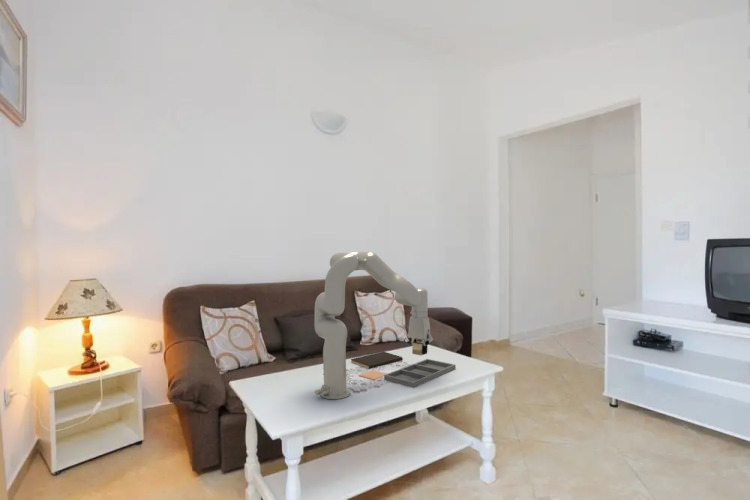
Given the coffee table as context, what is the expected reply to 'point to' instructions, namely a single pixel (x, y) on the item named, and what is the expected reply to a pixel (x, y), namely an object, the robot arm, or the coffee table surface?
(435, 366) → the grey organiser
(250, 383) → the coffee table surface
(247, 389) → the coffee table surface
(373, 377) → the terracotta tile
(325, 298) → the robot arm
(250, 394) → the coffee table surface
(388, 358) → the hardcover book
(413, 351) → the birch cube
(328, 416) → the coffee table surface
